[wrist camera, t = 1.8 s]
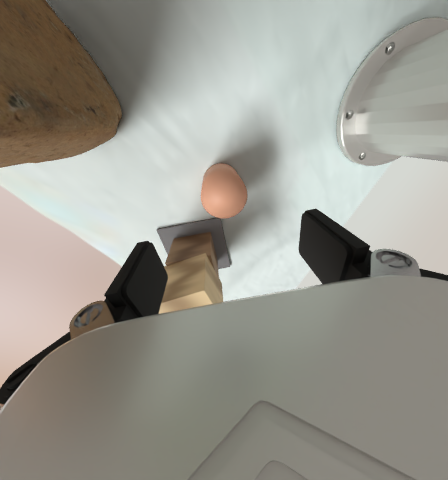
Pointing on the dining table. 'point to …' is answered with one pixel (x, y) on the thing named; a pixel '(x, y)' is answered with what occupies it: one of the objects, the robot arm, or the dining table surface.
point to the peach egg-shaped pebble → (223, 191)
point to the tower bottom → (193, 249)
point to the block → (48, 89)
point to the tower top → (191, 285)
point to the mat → (198, 228)
